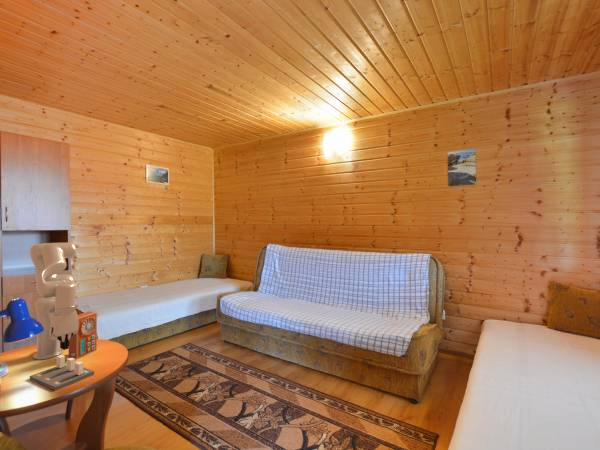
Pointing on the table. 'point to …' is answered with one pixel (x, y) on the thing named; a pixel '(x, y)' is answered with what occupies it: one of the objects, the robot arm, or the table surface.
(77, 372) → the block
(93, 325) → the control panel
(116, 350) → the table surface
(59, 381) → the breaker panel
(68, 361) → the block
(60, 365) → the breaker left
